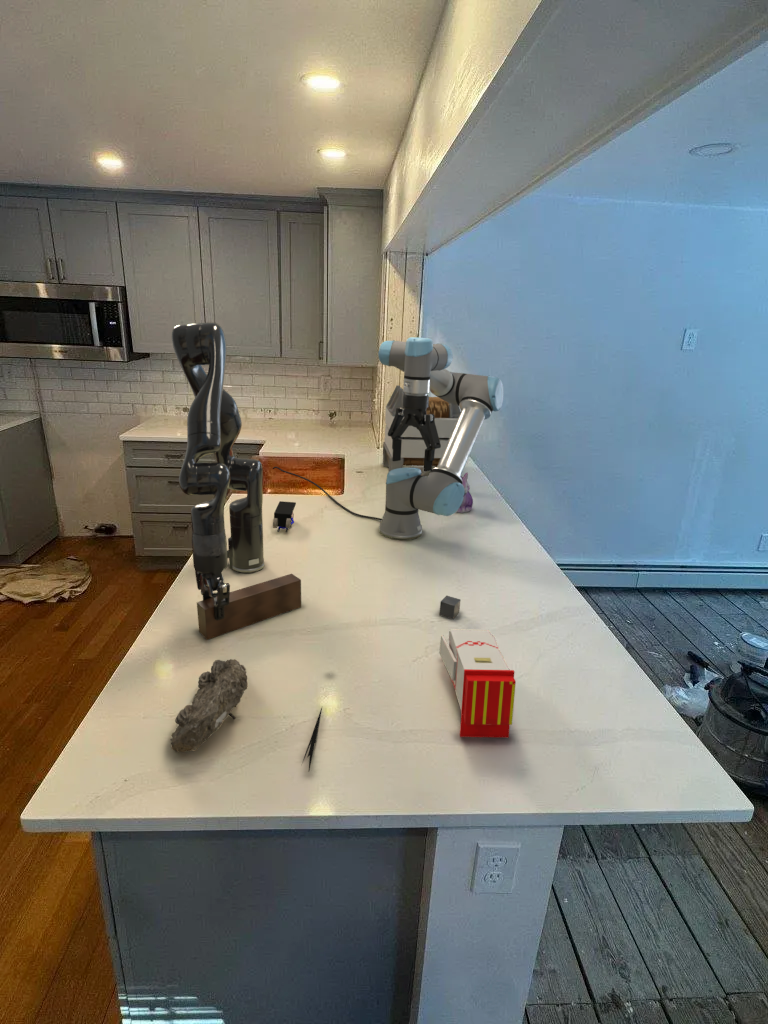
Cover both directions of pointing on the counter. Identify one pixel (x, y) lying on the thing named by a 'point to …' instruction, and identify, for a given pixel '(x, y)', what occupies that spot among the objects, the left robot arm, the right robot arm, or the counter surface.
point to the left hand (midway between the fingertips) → (214, 613)
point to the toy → (479, 682)
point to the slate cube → (449, 607)
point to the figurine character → (284, 515)
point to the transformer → (418, 432)
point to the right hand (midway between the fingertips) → (411, 465)
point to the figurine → (466, 496)
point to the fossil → (210, 704)
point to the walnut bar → (250, 605)
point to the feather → (313, 740)
